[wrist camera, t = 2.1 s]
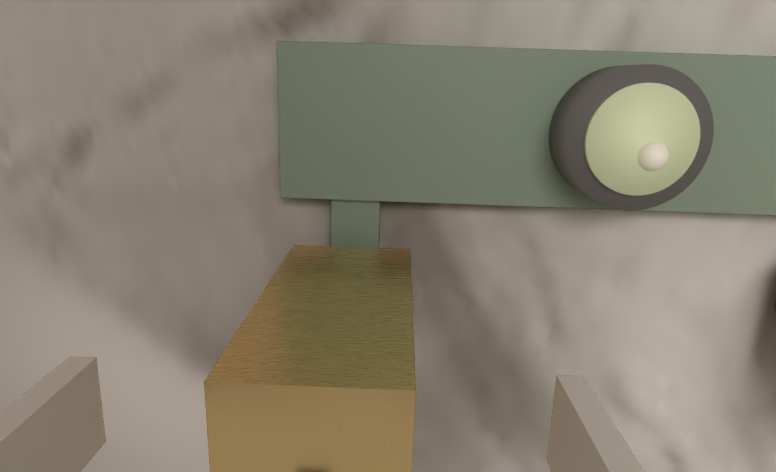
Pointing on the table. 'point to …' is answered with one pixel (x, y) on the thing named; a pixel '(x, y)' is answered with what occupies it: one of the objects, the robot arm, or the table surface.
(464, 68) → the base plate
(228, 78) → the table surface
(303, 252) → the knob
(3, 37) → the table surface
